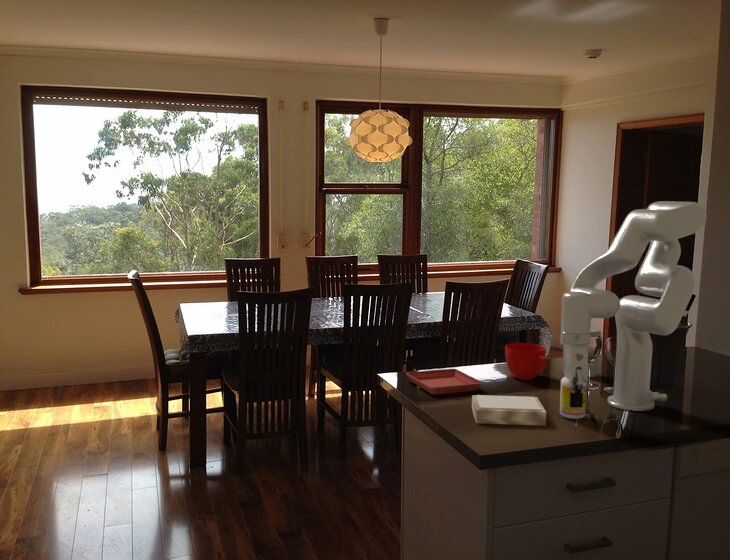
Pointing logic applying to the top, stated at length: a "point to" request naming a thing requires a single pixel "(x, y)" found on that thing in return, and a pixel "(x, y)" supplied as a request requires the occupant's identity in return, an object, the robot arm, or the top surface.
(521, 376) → the ceramic cup
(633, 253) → the robot arm
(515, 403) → the birch base
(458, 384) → the plant saucer
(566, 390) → the supplement bottle
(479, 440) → the top surface
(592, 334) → the skincare box
